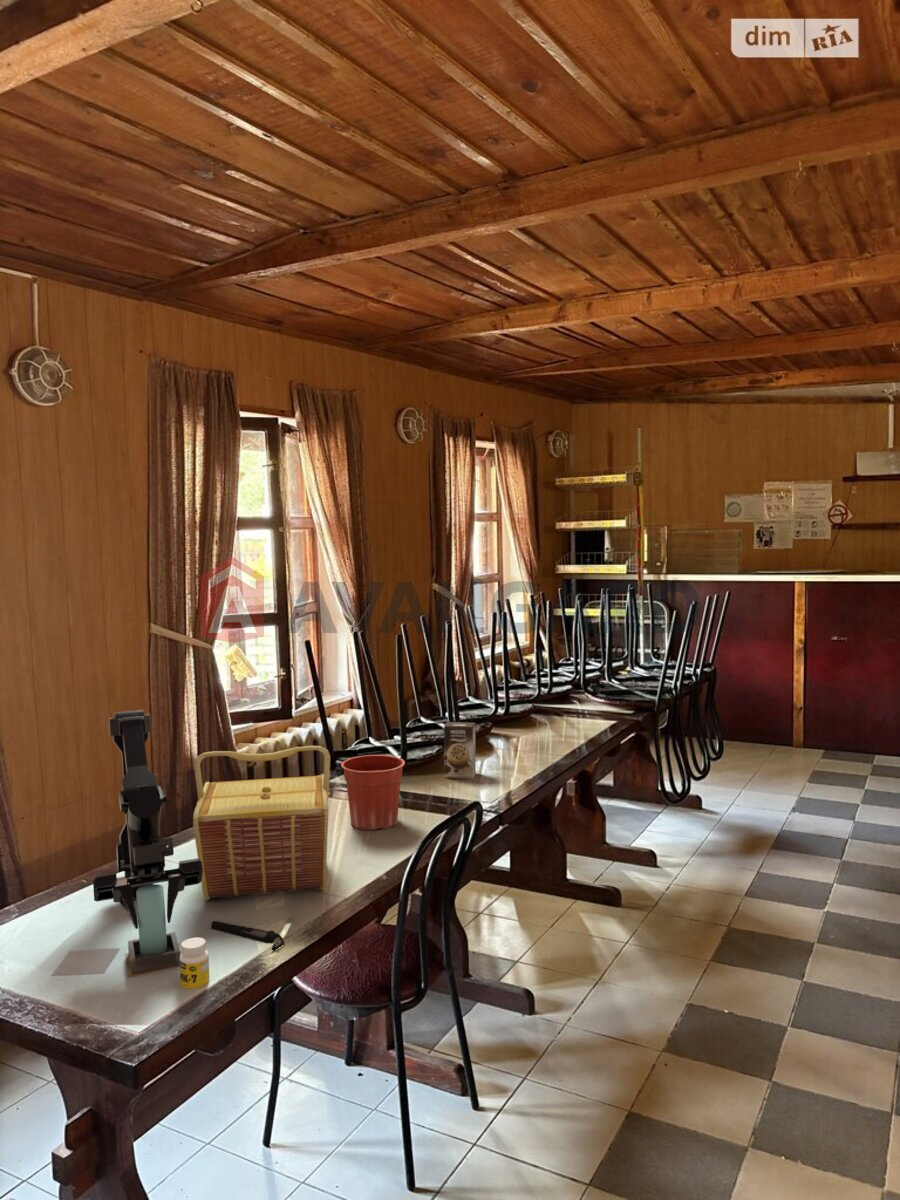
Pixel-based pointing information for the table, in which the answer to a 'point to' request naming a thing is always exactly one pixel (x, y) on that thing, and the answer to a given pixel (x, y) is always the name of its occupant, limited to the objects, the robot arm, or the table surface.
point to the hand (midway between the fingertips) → (153, 925)
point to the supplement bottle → (194, 963)
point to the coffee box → (459, 750)
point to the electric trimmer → (250, 933)
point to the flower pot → (373, 790)
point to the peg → (151, 920)
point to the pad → (86, 962)
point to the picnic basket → (262, 830)
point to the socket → (152, 958)
